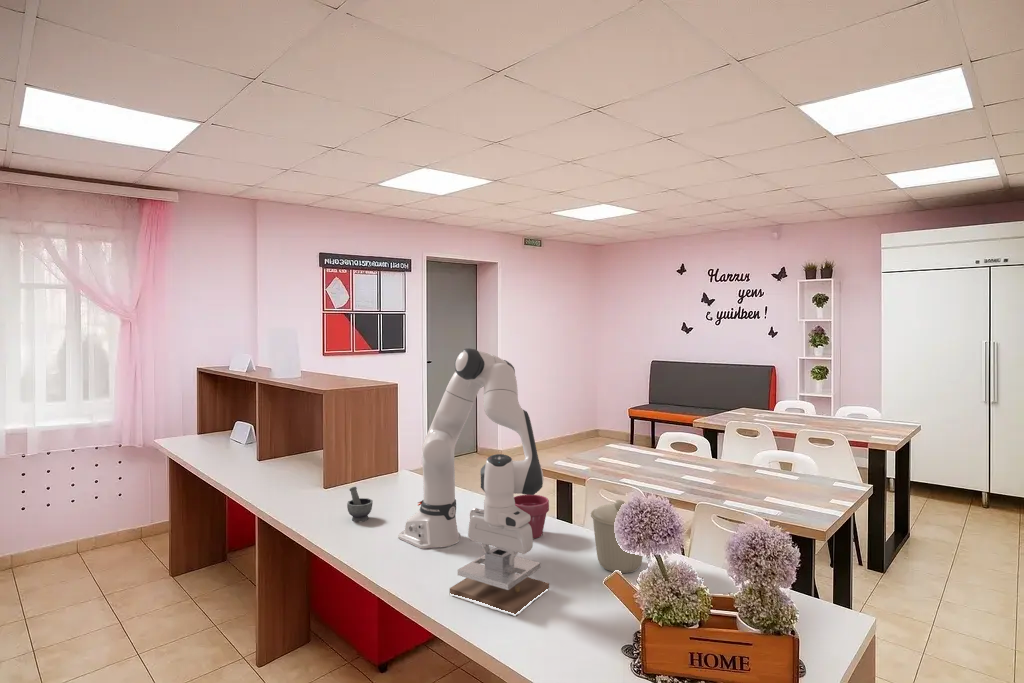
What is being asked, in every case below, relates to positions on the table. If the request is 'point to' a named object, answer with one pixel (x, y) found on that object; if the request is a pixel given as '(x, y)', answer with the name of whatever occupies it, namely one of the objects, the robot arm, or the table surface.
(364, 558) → the table surface
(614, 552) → the canister
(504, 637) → the table surface
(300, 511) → the table surface
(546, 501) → the plant pot
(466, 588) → the post base
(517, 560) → the flange plate
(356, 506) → the mortar and pestle
